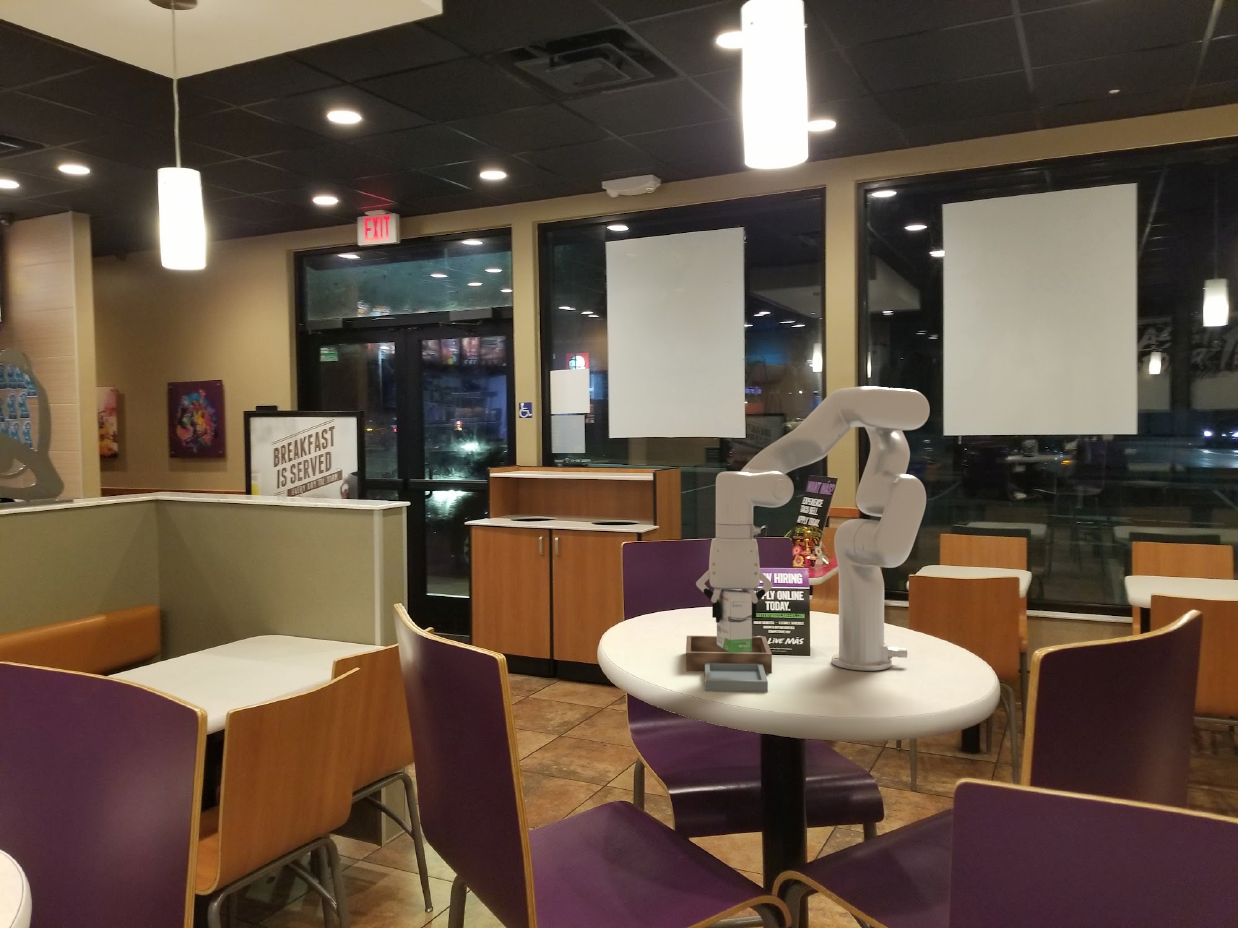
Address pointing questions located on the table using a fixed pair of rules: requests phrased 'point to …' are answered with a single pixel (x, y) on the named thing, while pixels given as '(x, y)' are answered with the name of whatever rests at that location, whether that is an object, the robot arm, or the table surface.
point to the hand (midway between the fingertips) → (734, 620)
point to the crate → (724, 653)
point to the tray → (735, 677)
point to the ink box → (735, 621)
